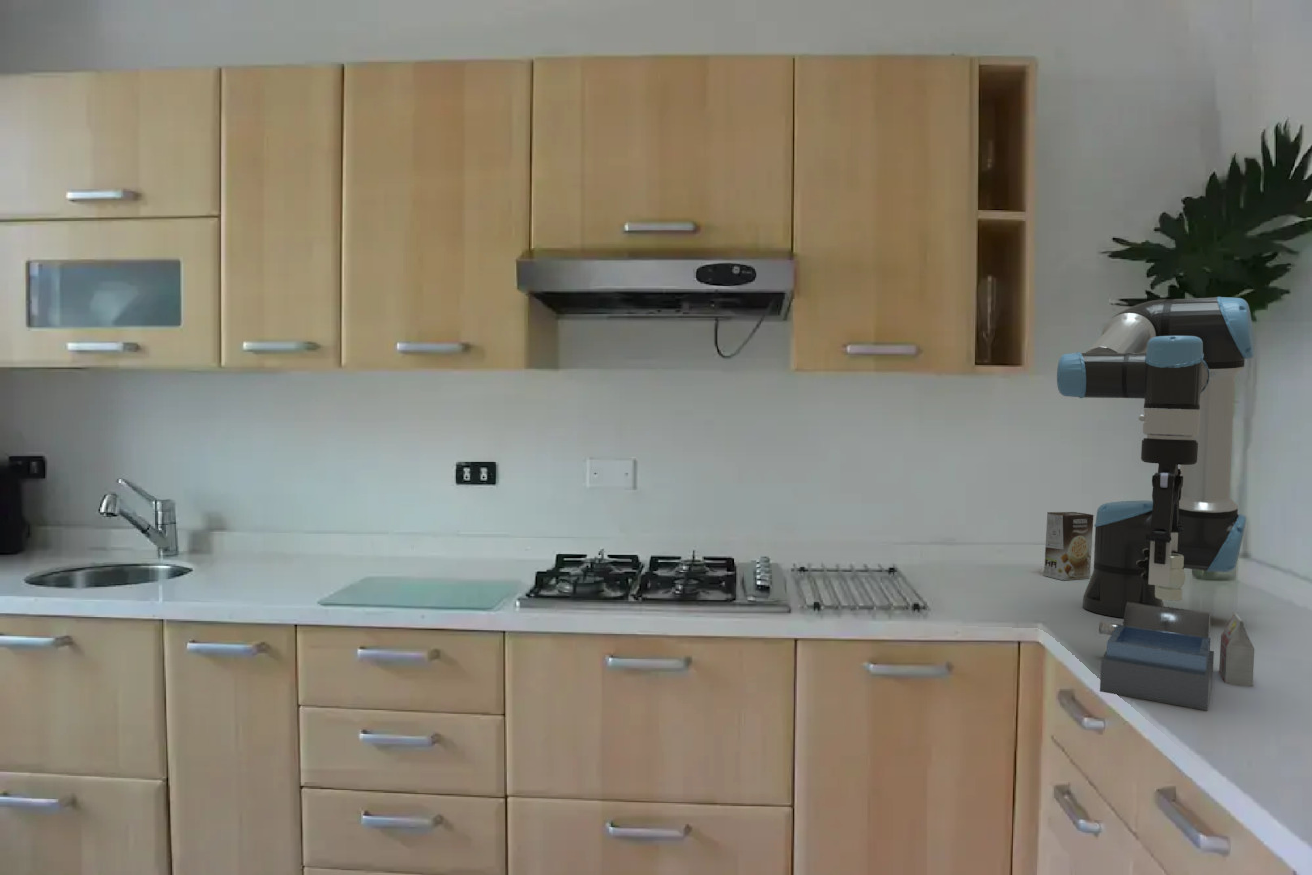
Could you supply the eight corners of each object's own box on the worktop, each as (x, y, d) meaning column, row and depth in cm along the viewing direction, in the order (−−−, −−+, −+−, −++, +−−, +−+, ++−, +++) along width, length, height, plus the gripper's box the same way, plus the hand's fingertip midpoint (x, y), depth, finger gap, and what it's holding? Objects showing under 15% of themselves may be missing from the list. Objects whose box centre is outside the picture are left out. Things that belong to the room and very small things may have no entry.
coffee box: (1063, 581, 224) (1066, 515, 224) (1043, 576, 230) (1045, 512, 230) (1091, 578, 228) (1094, 514, 227) (1070, 573, 234) (1073, 511, 233)
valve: (1195, 603, 134) (1182, 587, 146) (1198, 558, 134) (1184, 545, 145) (1144, 599, 137) (1135, 583, 148) (1147, 554, 136) (1137, 542, 148)
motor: (1102, 649, 163) (1105, 593, 163) (1214, 667, 154) (1218, 608, 153) (1078, 687, 141) (1081, 623, 141) (1207, 710, 132) (1210, 641, 132)
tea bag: (1245, 674, 150) (1248, 614, 150) (1252, 686, 144) (1255, 623, 144) (1219, 671, 152) (1222, 611, 151) (1224, 682, 146) (1228, 620, 145)
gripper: (1150, 434, 153) (1143, 564, 154) (1133, 438, 133) (1125, 588, 134) (1202, 436, 149) (1195, 570, 150) (1193, 441, 129) (1185, 595, 130)
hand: (1162, 578), depth 142 cm, fingers closed on valve, 12 cm apart
